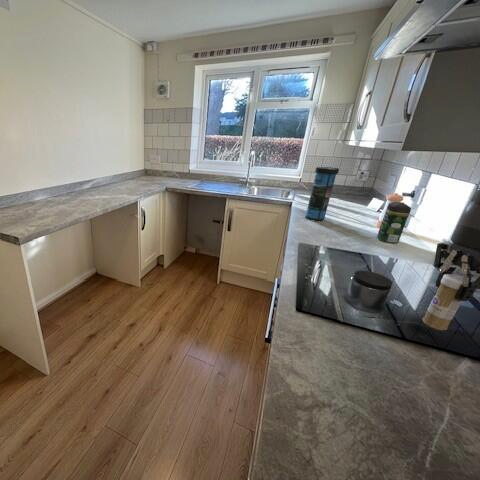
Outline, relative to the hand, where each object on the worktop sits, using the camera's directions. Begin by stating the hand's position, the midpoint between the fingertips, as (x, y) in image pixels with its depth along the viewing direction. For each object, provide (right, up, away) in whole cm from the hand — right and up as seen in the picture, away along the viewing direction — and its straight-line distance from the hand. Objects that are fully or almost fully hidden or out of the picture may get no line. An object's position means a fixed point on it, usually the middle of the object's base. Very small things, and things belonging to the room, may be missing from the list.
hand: (450, 293), depth 61 cm
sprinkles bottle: (0, -9, +4) cm, 10 cm away
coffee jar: (+43, +12, +66) cm, 79 cm away
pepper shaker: (+57, +19, +83) cm, 103 cm away
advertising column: (+25, +25, +96) cm, 102 cm away
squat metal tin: (-9, -8, +15) cm, 19 cm away
